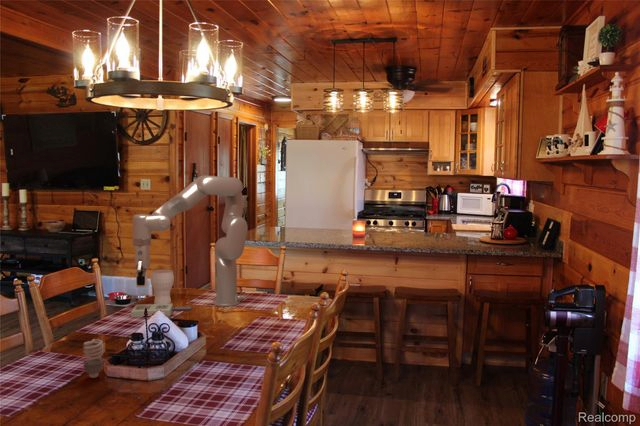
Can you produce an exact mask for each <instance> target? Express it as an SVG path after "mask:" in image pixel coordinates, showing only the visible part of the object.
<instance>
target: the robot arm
mask: <svg viewBox="0 0 640 426" xmlns="http://www.w3.org/2000/svg"><path fill="white" fill-rule="evenodd" d="M243 190H244V185H243V183H242V181H241V180H240V179H239V178H237V177H232V176H215V175H206V174H205V175H201V176H198V177H197V178H196V179H195V180H193V181H192V182H190V184H188V185H187V186H186V187H185V188H183V189H182V191H179V193H178V194H176V195H175V196H173V197H172V198H171V199H169V200H168V201H166V202H164V203H163V204H161V205H160V207H158V208H157V209H156V210H154V211H153V212H152V213H151V214H148V213H147V214H146V213H139V214H134V215H133V216H132V246H133V247H135V248H134V252H135V253H134V267H135V270H136V271H137V285H145V276H144V270H148V268H150V266H151V262H150V261H151V260H150V259H151V258H150V257H151V256H150V247H151V246H152V231H153V232H154V231H156V232H164V231H167V230H168V229H169V228H170V226H171V223H172V221H171V220H172V219H173V218H174V217H176V216H178V214H180V213H184V212H186V211H188V210H190V209H192V208H193V207H195V205H196V204H198V203H199V202H200V201H201V200H202V199H204V198H205V197H206V196H208V195H210V196H211V195H212V196H223V197H224V199H225V205H224V211H223V216H222V222H221V229H222V231H223V233H224V234H226V236H223V237H220V238H219V239H218V240H217V241H216V243H215V244H214V255H215V256H214V257H215V266H216V268H215V269H216V270H215V275H216V276H215V277H216V279H215V285H216V286H215V288H216V289H215V291H216V298H215V299H213V300H212V304H213V305H214V306H217V307H232V306H237V305H239V304H240V303H241V302H240V300H247V295H245V294H238V292H237V288H238V287H237V274H238V272H237V269H238V268H237V267H238V265H237V260H238V259H240V258H241V257H242V255H243V252H244V250H245V246H246V241H247V234H248V230H249V229H248V227H249V226H248V222H247V220H246V219H245V218H244V217H243V213H244V206H245V204H244V203H245V199H244V196H243V193H242V191H243ZM141 270H143V272H142V271H141Z"/></svg>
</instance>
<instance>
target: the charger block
mask: <svg viewBox="0 0 640 426" xmlns="http://www.w3.org/2000/svg"><path fill="white" fill-rule="evenodd" d="M141 271H142V272H143V270H141ZM135 273H136V274H135V276H136V277H135V287H136V288H147V287H148V269H146V270H144V276H145V285H137V270H136V271H135Z"/></svg>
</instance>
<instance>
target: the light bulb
mask: <svg viewBox="0 0 640 426" xmlns="http://www.w3.org/2000/svg"><path fill="white" fill-rule="evenodd" d="M82 348H83V351H82V352H83V357H85V358H86V359H85V361H84V363H83V368H84V372H85V373H86V374H89V376H88V377H90V378H91V379H96V378H98V377H99V373H100V372H102V371H103V369H104V360H103V359H102V357H103V356H104V355H103V354H104V343H103V340H101V339H100V338H99V339H98V338H93V339H92V340H91V341H85V342H83V346H82Z"/></svg>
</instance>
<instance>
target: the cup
mask: <svg viewBox="0 0 640 426" xmlns="http://www.w3.org/2000/svg"><path fill="white" fill-rule="evenodd" d="M174 281H175V275H174V271H173V270H172V269H156V270H153V271H151V274H150V284H151V286H152V289H153V291H154V301H153V304H171V303H172V300H171V291H172V287H173V285H174V283H175V282H174Z"/></svg>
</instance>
